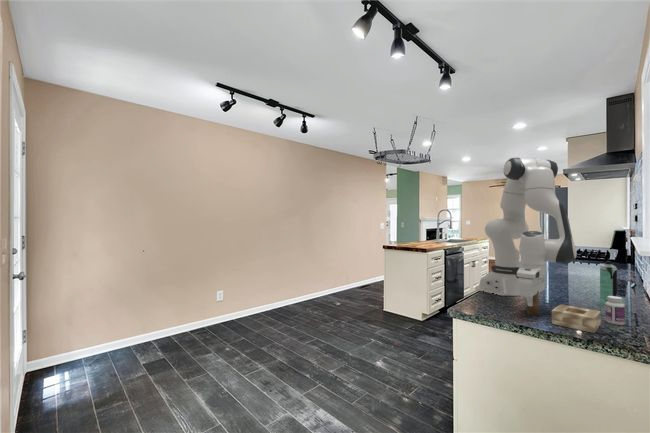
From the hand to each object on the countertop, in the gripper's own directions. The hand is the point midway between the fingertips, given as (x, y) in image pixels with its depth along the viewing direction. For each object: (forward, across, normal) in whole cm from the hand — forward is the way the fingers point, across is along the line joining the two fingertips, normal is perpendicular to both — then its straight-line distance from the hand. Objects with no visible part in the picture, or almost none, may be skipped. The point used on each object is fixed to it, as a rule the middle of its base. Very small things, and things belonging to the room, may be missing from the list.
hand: (533, 304), depth 123 cm
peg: (+4, 0, 0) cm, 4 cm away
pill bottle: (+4, -12, +23) cm, 26 cm away
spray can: (+4, -38, +18) cm, 42 cm away
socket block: (+4, +1, +14) cm, 15 cm away
